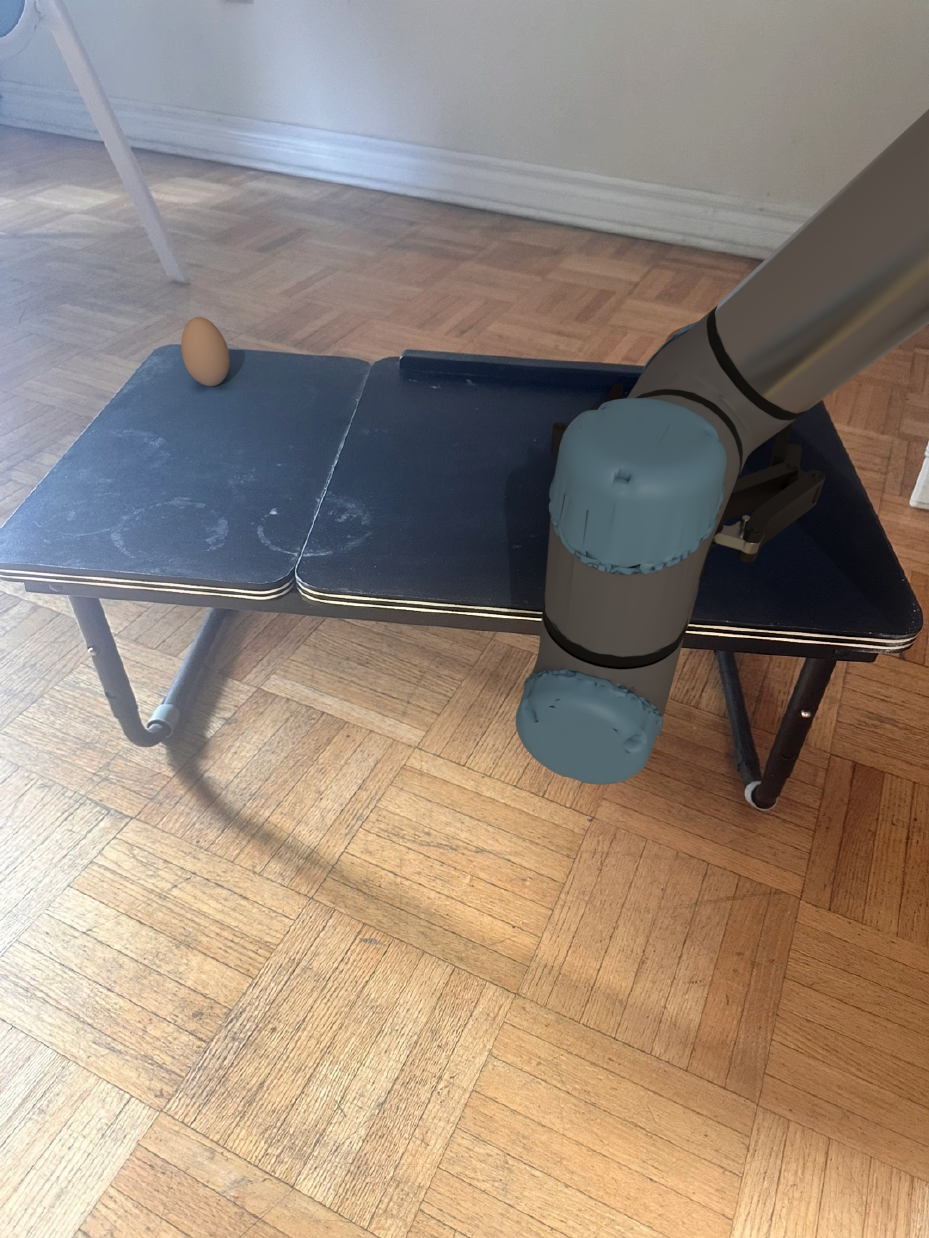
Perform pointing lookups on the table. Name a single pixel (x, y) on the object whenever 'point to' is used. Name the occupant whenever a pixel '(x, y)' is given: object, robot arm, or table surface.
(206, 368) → the egg
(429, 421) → the table surface
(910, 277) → the robot arm
